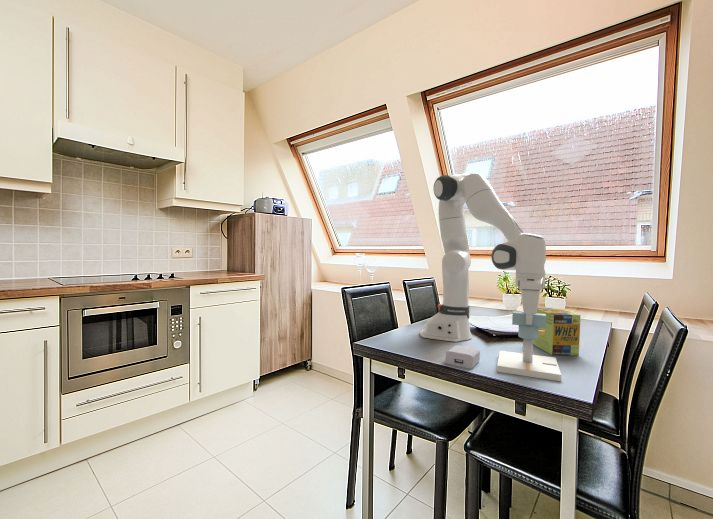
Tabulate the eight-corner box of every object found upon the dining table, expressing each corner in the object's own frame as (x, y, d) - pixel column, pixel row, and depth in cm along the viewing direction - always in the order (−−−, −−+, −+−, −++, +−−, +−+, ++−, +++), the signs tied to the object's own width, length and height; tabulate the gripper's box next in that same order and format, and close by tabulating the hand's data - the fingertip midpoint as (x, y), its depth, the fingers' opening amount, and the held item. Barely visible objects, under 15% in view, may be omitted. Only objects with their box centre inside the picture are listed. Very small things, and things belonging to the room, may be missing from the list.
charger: (483, 357, 127) (472, 369, 114) (458, 353, 132) (445, 364, 119) (484, 345, 126) (472, 355, 114) (459, 340, 132) (445, 350, 119)
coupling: (511, 337, 115) (512, 313, 115) (512, 333, 121) (512, 310, 120) (545, 341, 111) (546, 316, 111) (544, 336, 116) (545, 313, 116)
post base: (497, 371, 112) (497, 341, 112) (499, 355, 128) (500, 329, 128) (561, 381, 104) (562, 348, 104) (555, 363, 121) (556, 335, 120)
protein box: (552, 355, 130) (553, 314, 129) (531, 343, 145) (532, 307, 145) (580, 355, 130) (581, 314, 129) (556, 344, 145) (557, 307, 145)
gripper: (519, 278, 126) (518, 316, 126) (519, 284, 107) (518, 328, 108) (538, 279, 123) (537, 318, 124) (542, 285, 105) (541, 330, 105)
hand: (528, 322), depth 116 cm, fingers closed on coupling, 3 cm apart
